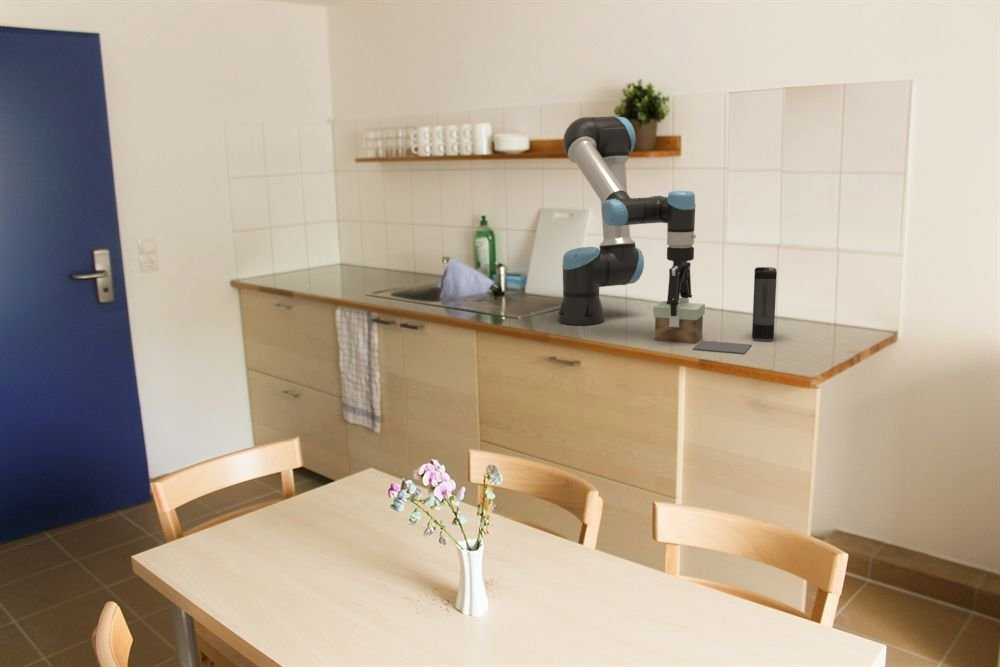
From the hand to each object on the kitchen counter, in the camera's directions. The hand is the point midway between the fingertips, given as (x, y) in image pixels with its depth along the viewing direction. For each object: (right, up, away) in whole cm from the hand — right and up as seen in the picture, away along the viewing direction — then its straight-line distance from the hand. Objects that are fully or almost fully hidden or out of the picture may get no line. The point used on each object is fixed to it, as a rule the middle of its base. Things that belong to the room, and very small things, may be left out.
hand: (678, 323), depth 245 cm
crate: (0, -5, +1) cm, 5 cm away
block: (0, +2, 0) cm, 2 cm away
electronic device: (+24, -4, 0) cm, 25 cm away
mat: (+10, -7, -10) cm, 16 cm away
